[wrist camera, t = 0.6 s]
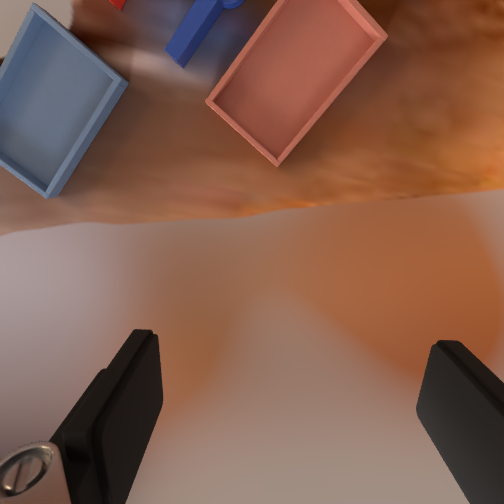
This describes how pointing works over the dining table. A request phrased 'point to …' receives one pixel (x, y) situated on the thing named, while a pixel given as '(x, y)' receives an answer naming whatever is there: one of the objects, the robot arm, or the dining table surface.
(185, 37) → the blue spoon
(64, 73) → the blue tray
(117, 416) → the robot arm
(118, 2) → the red spoon
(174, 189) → the dining table surface
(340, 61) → the rose tray
